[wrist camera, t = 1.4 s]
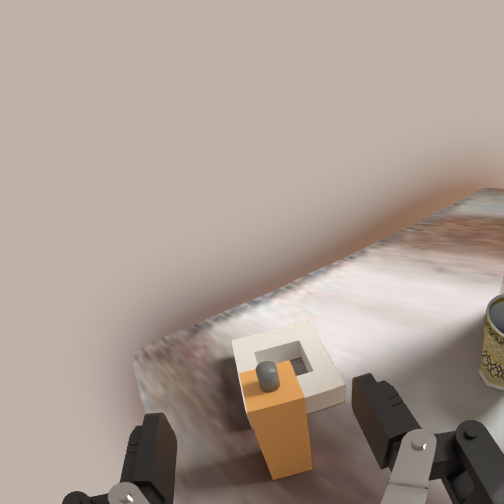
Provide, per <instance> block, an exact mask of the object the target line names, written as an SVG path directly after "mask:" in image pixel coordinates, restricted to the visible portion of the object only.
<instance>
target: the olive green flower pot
mask: <svg viewBox="0 0 504 504" xmlns="http://www.w3.org/2000/svg"><path fill="white" fill-rule="evenodd" d="M479 374H480V376H481V378H482V379H483V381H484V382H485V384H486V386H488V387H492V388H495V389H498V390H504V294H501V295H499V296H496V297H495V298H493V299H492V300H491V301H490V302H489V304H488V306H487V310H486V318H485V327H484V344H483V351H482V357H481V363H480V368H479Z"/></svg>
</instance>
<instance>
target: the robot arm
mask: <svg viewBox="0 0 504 504" xmlns="http://www.w3.org/2000/svg"><path fill="white" fill-rule="evenodd" d="M501 294H504V277H503V282H502V286H501V291H500V295H501ZM352 408H353V412H354V414H355V416H356V418H357V420H358V423H359V425H360V427H361V429H362V431H363V433H364V435H365V437H366V439H367V441H368V443H369V445H370V447H371V450H372V452H373V454H374V456H375V458H376V460H377V462H378V464H379V466H380V468H381V469H384V468H386V467H389V468H390V470H391V472H392V473H391V476H390V478H389V481H388V484H387V487H386V489H385V492H384V495H383V497H382V500H381V502H380V504H424V503H425V499H426V496H427V491H428V488H427V483H428V481H429V480H435V479H440V478H441V480H442V482H443V484H444V486H445V488H446V490H447V492H448V494H449V497H450V499H451V501H452V503H453V504H504V454H503V453H502V451H501V450H500V448H499V447H498V445H497V444H496V442H495V441H494V439H493V438H492V436H491V435H490V433H489V432H488V431H487V429H486V428H485V426H484V425H483V424H482V423H480V422H478V421H475V420H468V421H465V422H463V423H461V424H460V425H459V426H458V427H457V429H456V431H452V432H447V433H441V434H433V433H431V432H430V431H428V430H425V429H422V428H421V427H420V426H419V424H418V423H417V421H416V420H415V418H414V417H413V415H412V414H411V412H410V411H409V409H408V408H407V406H406V405H405V403H403V400H402V399H401V397H400V396H399V394H398V393H397V391H396V390H395V388H394V387H393V386H392V385H390V384H389V383H387V382H386V381H381V382H378V383H377V382H376V380H375V378H374V377H373V375H372V374H371V373H367V374H364V375H361V376H358V377H354V378H353V381H352ZM126 452H127V454H126V455H125V460H124V465H123V470H122V474H121V480H120V482H119V483H118V484H116V485H115V486H113V487H112V488H111V490H110V491H109V493H107V494H103V495H98V496H93V497H89V496H87V495H86V494H85V493H83V492H79V491H75V492H71V493H69V494H68V495H67V496H66V497H65V498H64V500H63V502H62V504H173V498H174V482H175V467H176V454H177V440H176V436H175V433H174V431H173V430H172V428H171V426H170V424H169V422H168V420H167V418H166V416H165V415H164V413H151V414H145V416H144V421H143V426H136V427H135V429H134V430H133V431H132V433H131V434H130V438H129V442H128V446H127V451H126Z"/></svg>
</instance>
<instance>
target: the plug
mask: <svg viewBox="0 0 504 504" xmlns="http://www.w3.org/2000/svg"><path fill="white" fill-rule="evenodd" d="M239 375H240V379H241V384H242V389H243V394H244V399H245V403H246V408H247V413H248V415H249V418H250V421H251V424H252V426H253V429H254V432H255V434H256V437H257V440H258V442H259V445H260V448H261V450H262V453H263V456H264V458H265V461H266V463H267V466H268V468H269V471H270V474H271V476H272V479H273V480H275V479H279V478H283V477H287V476H291V475H294V474H298V473H302V472H305V471H308V470H312V469H313V468H312V458H311V448H310V439H309V430H308V422H307V413H306V405H305V397H304V394H303V392H302V389H301V387H300V384H299V382H298V379H297V377H296V374H295V372H294V369H293V367H292V365H291V362H290V360H288V361H284V362H281V363H277V364H275V363H274V362H272V361H264V362H261V363H259V364H258V365H257V367H256V369H254V370H250V371H246V372H242V373H239Z"/></svg>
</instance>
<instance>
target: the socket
mask: <svg viewBox="0 0 504 504" xmlns="http://www.w3.org/2000/svg"><path fill="white" fill-rule="evenodd" d="M232 345H233V351H234V356H235V361H236V366H237V371H238V376H239V381H240V386H241V391H242V396H243V401H244V406H245V410H246V414H247V417H248V420H249V422H250V425H251V428H252V429H253V426H252V424H251V421H250V418H249V415H248V413H247V408H246V403H245V399H244V394H243V389H242V384H241V379H240V375H239V373H242V372H246V371H250V370H254V369H256V367H257V365H258V364H259V363H261V362H264V361H272V362H274V363H275V364H277V363H281V362H284V361H288V360H294V359H297V358H302V360H303V362H304V364H305V366H306V369H307V371H308V373H306V374H302V375H299V376H296V377H297V379H298V382H299V384H300V387H301V389H302V392H303V394H304V397H305V405H306V413H307V414H309V413H312V412H315V411H318V410H321V409H324V408H327V407H330V406H333V405H336V404H339V403H342V402H345V383H344V381H343V379H342V378H341V376H340V374H339V372H338V370H337V369H336V367H335V365H334V363H333V361H332V359H331V358H330V356H329V354H328V352H327V350H326V349H325V347H324V345H323V343H322V341H321V340H320V338H319V336H318V334H317V333H316V331H315V329H314V327H313V325H312V324H311V322H310V320H307V321H304V322H300V323H297V324H293V325H290V326H286V327H282V328H279V329H275V330H271V331H267V332H264V333H260V334H256V335H252V336H248V337H244V338H240V339H236V340H232Z"/></svg>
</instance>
